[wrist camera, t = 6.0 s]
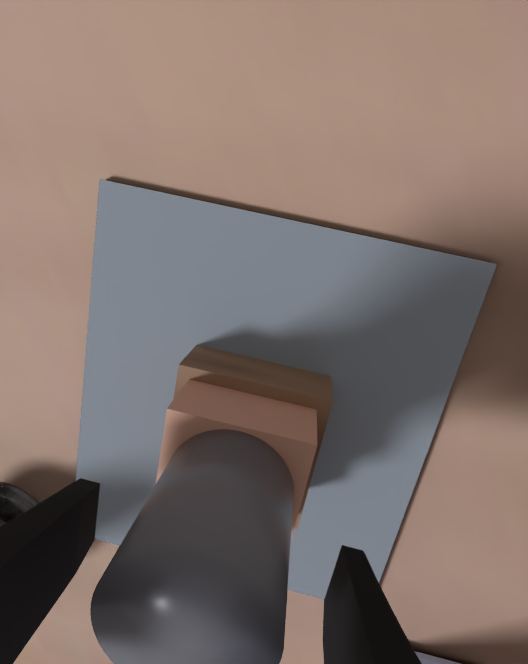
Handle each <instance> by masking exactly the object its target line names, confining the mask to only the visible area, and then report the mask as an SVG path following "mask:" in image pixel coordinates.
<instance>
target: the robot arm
mask: <svg viewBox="0 0 528 664" xmlns="http://www.w3.org/2000/svg"><path fill="white" fill-rule="evenodd" d="M99 491H100V483H97V482H93V481H89V480H86V479H82V478H80V479H79V480H77V481H75V482H73V483H72V484H70V485H68V486H67V487H65V488H64V489H62V490H60V491H59V492H57V493H55V494H54V495H52V496H51V497H49V498H47V499H46V500H44V501H43V502H41V503H39V504H38V505H36V506H34V507H33V508H31V509H29V510H28V511H26V512H24V513H23V514H21V515H19V516H17V517H16V518H14V519H12V520H11V521H9V522H7V523H6V524H4V525H2V526H0V664H13V663H14V661H15V660H16V658H17V657H18V655H19V654H20V652H21V651H22V649H23V648H24V647H25V645H26V644H27V642H28V641H29V640H30V638H31V637H32V635H33V634H34V632H35V631H36V630H37V628H38V627H39V625H40V624H41V622H42V621H43V620H44V618H45V617H46V615H47V614H48V613H49V611H50V610H51V608H52V607H53V605H54V604H55V603H56V601H57V600H58V598H59V597H60V595H61V594H62V592H63V591H64V590H65V588H66V587H67V585H68V584H69V582H70V581H71V579H72V578H73V577H74V575H75V574H76V572H77V570H78V568H79V566H80V565H81V563H82V561H83V559H84V558H85V556H86V554H87V552H88V550H89V548H90V546H91V545H92V543H93V541H94V539H95V530H96V520H97V510H98V501H99ZM323 651H324V664H461V663H457V662H454V661H450V660H446V659H442V658H439V657H435V656H431V655H427V654H424V653H420V652H416V651H414V650H413V648H412V646H411V644H410V643H409V641H408V639H407V637H406V635H405V634H404V632H403V630H402V628H401V626H400V624H399V622H398V620H397V618H396V616H395V615H394V613H393V611H392V609H391V607H390V605H389V603H388V601H387V599H386V597H385V595H384V593H383V591H382V589H381V587H380V584H379V582H378V580H377V578H376V576H375V574H374V572H373V570H372V567H371V565H370V563H369V561H368V559H367V556H366V554H365V553H364V551H363V550H359V549H355V548H352V547H348V546H344V545H342V546H341V549H340V552H339V556H338V559H337V562H336V565H335V568H334V571H333V574H332V577H331V580H330V583H329V586H328V589H327V593H326V596H325V599H324V619H323Z"/></svg>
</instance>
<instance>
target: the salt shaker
mask: <svg viewBox="0 0 528 664" xmlns="http://www.w3.org/2000/svg"><path fill="white" fill-rule="evenodd" d="M38 504H39V503H38V502H37V501H36V500H35V499H33V498H32V497H31V496H30V495H29V494H27V493H26V492H24V491H22V490H20V489H19V488H17V487H14V486H11V485H8V484H5V483H0V526H2V525H4V524H6V523H7V522H9V521H11V520H12V519H14V518H16V517H17V516H19V515H21V514H23V513H24V512H26V511H28V510H29V509H31V508H33V507H34V506H36V505H38Z"/></svg>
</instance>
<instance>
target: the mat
mask: <svg viewBox="0 0 528 664" xmlns="http://www.w3.org/2000/svg"><path fill="white" fill-rule="evenodd" d="M496 266H497V264H495V263H490V262H486V261H481V260H476V259H472V258H467V257H462V256H458V255H453V254H448V253H444V252H439V251H434V250H430V249H425V248H420V247H415V246H411V245H406V244H401V243H397V242H392V241H387V240H383V239H378V238H373V237H369V236H364V235H359V234H355V233H350V232H345V231H341V230H336V229H331V228H327V227H322V226H317V225H313V224H308V223H303V222H299V221H294V220H289V219H285V218H280V217H275V216H271V215H266V214H261V213H257V212H252V211H247V210H243V209H238V208H233V207H229V206H224V205H219V204H215V203H210V202H205V201H201V200H196V199H191V198H187V197H182V196H177V195H173V194H168V193H163V192H159V191H154V190H149V189H145V188H140V187H135V186H131V185H126V184H121V183H117V182H112V181H107V180H102V179H100V180H99V192H98V205H97V218H96V230H95V243H94V256H93V268H92V281H91V294H90V306H89V319H88V332H87V344H86V357H85V370H84V382H83V395H82V407H81V420H80V433H79V445H78V458H77V471H76V481H77V480H79V479H80V478H82V479H86V480H89V481H93V482H97V483H100V491H99V501H98V510H97V520H96V530H95V539H97V540H101V541H104V542H108V543H112V544H116V545H121V543H122V541H123V540H124V538H125V536H126V534H127V533H128V531H129V529H130V528H131V526H132V524H133V523H134V521H135V519H136V517H137V516H138V514H139V512H140V511H141V509H142V507H143V505H144V504H145V502H146V500H147V499H148V497H149V495H150V493H151V492H152V490H153V488H154V487H155V485H156V479H157V472H158V465H159V458H160V452H161V445H162V438H163V431H164V425H165V418H166V411H167V408H168V406H169V405H170V404H171V402H172V401H173V399H174V392H175V386H176V379H177V373H178V366H179V364H180V363H181V361H182V360H183V359H184V358H185V357H186V356H187V355H188V354H189V353H190V351H191V350H192V349H193V348H194V347H195V346H196V345H200V346H204V347H208V348H213V349H217V350H221V351H225V352H230V353H234V354H238V355H243V356H247V357H251V358H255V359H260V360H264V361H268V362H273V363H277V364H281V365H285V366H290V367H294V368H298V369H303V370H307V371H311V372H316V373H320V374H324V375H328V376H331V385H332V394H333V404H332V407H331V411H330V415H329V418H328V422H327V425H326V429H325V432H324V436H323V440H322V443H321V447H320V450H319V454H318V457H317V461H316V465H315V468H314V472H313V475H312V479H311V482H310V486H309V490H308V493H307V497H306V500H305V504H304V507H303V511H302V515H301V518H300V522H299V525H298V529H296V528H294V531H293V535H292V539H291V544H290V559H289V574H288V589H287V590H291V591H295V592H299V593H302V594H306V595H310V596H314V597H318V598H321V599H325V596H326V593H327V589H328V586H329V583H330V580H331V577H332V574H333V571H334V568H335V565H336V562H337V559H338V556H339V552H340V549H341V546H342V545H344V546H348V547H352V548H355V549H359V550H363V551H364V553H365V554H366V556H367V559H368V561H369V563H370V565H371V567H372V570H373V572H374V574H375V576H376V578H377V580H378V582H379V581H380V579H381V576H382V573H383V571H384V568H385V565H386V563H387V560H388V557H389V555H390V552H391V549H392V546H393V544H394V541H395V538H396V536H397V533H398V530H399V528H400V525H401V522H402V519H403V517H404V514H405V511H406V509H407V506H408V503H409V501H410V498H411V495H412V493H413V490H414V487H415V484H416V482H417V479H418V476H419V474H420V471H421V468H422V466H423V463H424V460H425V457H426V455H427V452H428V449H429V447H430V444H431V441H432V439H433V436H434V433H435V431H436V428H437V425H438V422H439V420H440V417H441V414H442V412H443V409H444V406H445V404H446V401H447V398H448V395H449V393H450V390H451V387H452V385H453V382H454V379H455V377H456V374H457V371H458V368H459V366H460V363H461V360H462V358H463V355H464V352H465V350H466V347H467V344H468V342H469V339H470V336H471V333H472V331H473V328H474V325H475V323H476V320H477V317H478V315H479V312H480V309H481V306H482V304H483V301H484V298H485V296H486V293H487V290H488V288H489V285H490V282H491V280H492V277H493V274H494V271H495V269H496Z"/></svg>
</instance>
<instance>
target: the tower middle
mask: <svg viewBox="0 0 528 664" xmlns="http://www.w3.org/2000/svg"><path fill="white" fill-rule="evenodd" d="M221 429H227V430H236V431H241V432H244V433H247V434H250V435H253V436H255V437H257V438H259V439H261V440H262V441H264V442H266V443H267V444H268V445H270V446H271V447H272V448H273V449H274V450H275V451H276V452H277V453H278V454H279V455H280V456H281V457H282V459H283V460H284V461H285V463H286V465H287V466H288V468H289V471H290V473H291V476H292V480H293V485H294V499H293V514H292V529H291V539H292V535H293V531H294V528H295V524H296V521H297V517H298V513H299V510H300V506H301V502H302V499H303V495H304V492H305V488H306V484H307V481H308V477H309V474H310V470H311V466H312V463H313V459H314V456H315V452H316V448H317V410H316V409H312V408H308V407H304V406H299V405H295V404H291V403H287V402H283V401H278V400H274V399H270V398H266V397H262V396H257V395H253V394H249V393H245V392H241V391H236V390H232V389H228V388H224V387H220V386H215V385H211V384H207V383H203V382H198V381H194V380H190V379H189V380H188V381H187V383H186V384H185V385H184V387H183V388H182V389H181V391H180V392H179V393H178V395H177V396H176V397H175V398H174V400H173V401H172V402H171V404H170V405H169V406H168V408H167V411H166V418H165V425H164V431H163V438H162V445H161V452H160V458H159V465H158V472H157V479H156V483H157V481H158V480H159V478H160V476H161V475H162V473H163V471H164V469H165V468H166V466H167V464H168V463H169V461H170V459H171V457H172V456H173V454H174V453H175V451H176V450H177V449H178V448H179V447H180V446H181V445H182V444H183V443H184V442H185V441H187V440H188V439H190V438H191V437H193V436H195V435H198V434H200V433H203V432H206V431H211V430H221Z"/></svg>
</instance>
